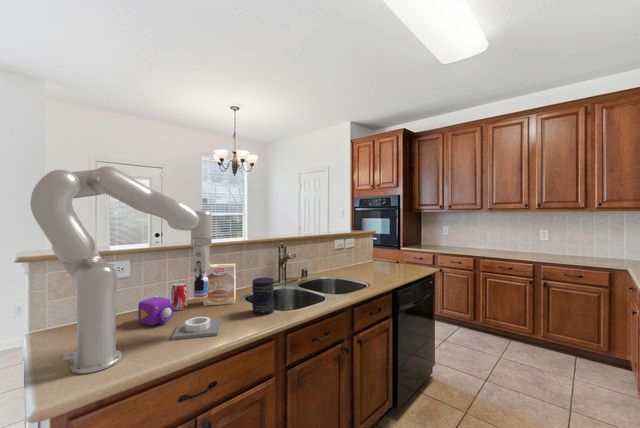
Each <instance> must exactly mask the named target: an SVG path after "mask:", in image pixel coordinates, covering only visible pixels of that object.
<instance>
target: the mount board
mask: <svg viewBox="0 0 640 428" xmlns="http://www.w3.org/2000/svg"><path fill="white" fill-rule="evenodd" d="M221 323H222V318H219V319H218V318H216V319H211V318H210V317H208V316H195V317H191V318H189V319H187V320H185V321H183V322H182V321H181V322H179V323H178V325H177V327H176V328H175V330H174V332H173V333H172V334H171V336H170V340H171V341H176V340H185V339H186V340H187V339H197V338H207V337H217V336H218V334H219V330H220V326H221Z"/></svg>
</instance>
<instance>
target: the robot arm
mask: <svg viewBox="0 0 640 428" xmlns="http://www.w3.org/2000/svg"><path fill="white" fill-rule="evenodd" d="M100 195H108V196H109V197H111V198H113V199H116V201H119V202H120V203H123V204H125V205H127V206H129V207H130V208H132V209H134V210H136V211H138V212H141V213H144V214H148V215H152V216H155V217H157V218H160V219H163V220H165V221H166V223H167V225H168V226H169V227H170V228H172V229H173V230H176V231H177V230H178V231H187V232H189V231H190V247H192V248H193V251H192V272H193V273H195V274H194V278H195V288H194V290H195V291H203V290H204V280H203V271H204V272H207V271H208V270H209V269H210V264H211V260H210V259H211V254H210V253H211V252H210V247H212V232H213V231H212V230H213V229H212V228H213V227H212V222H213V221H212V220H213V217H212V214H213V213H212V212H211V211H208V210H193V209H191V208H189V206H186V205H185V204H183V203H181V202H180V201H177V200H176V199H174V198H171V197H170V196H167V195H166V194H164V193H161V192H159V191H157V190H155V189H153V188H151V187H149V186H148V185H146V184H144V183H142V182H141V181H139V180H136V179H135V178H134V177H131V176H130V175H129V174H127V173H125V172H124V171H121V170H120V169H118V168H117V167H114V166H109V165H106V166H100V167H98V168H95V169H89V170H81V171H70V170H67V169H54V170H52V171H49V172H47V173H46V174H45V175H43V177H41V179H39V181H38V182H37V183H36V184H35V186H34V188H33V189H32V192H31V195H30V203H29V204H30V210H31V213H32V215H33V218H34V220H35V221H36V223H37V225H38V226H39V228H40V229H41V231H42V232H43V234H44V236H45V238H47V240H48V242H49V243H50V244H51V249H52V251H53V254H54V255H55V256H56V258H57V259H58V261H59V262H60V264H62V266H63V268H64V269H65V270H66V271H67V273H68V275H69V276H70V277H71V279H72V280H73V281H74V283H75V284H76V287H77V290H76V336H77V337H76V343H77V344H76V345H77V346H76V350H74V351H73V350H71V351H65V352H63V354H62V361H63V362H69V361H70V362H71V361H72V363H71V364H70V371H71V372H72V373H74V374H78V375H79V374H91V373H95V372H99V371H101V370H102V371H103V370H106V369H108V368H110V367H113V366H114V365H116V364H117V363H118V362H120V361H121V360H122V358H123V352H122V351H120V350H118V349H117V326H116V325H117V319H116V318H117V317H116V313H117V312H116V311H117V310H116V300H117V299H116V293H117V285H118V277H117V275H118V274H117V271H116V270H115V268H114V267H113V266H112V265H111V264H110V263H108V262H106V261H105V260H104V259H103V258H102V256H101V255H100V254H101V253H100V252H99V251H98V250H97V248H96V243H95V242H96V241H95V240H94V238H93V236H91V235H90V233H89V232H88V231H87V229H86V227H85V226H84V225H83V223H82V221H80V219H79V217H78V215H77V214H76V212H75V210H74V208H73V200H74V199H79V198H88V197H94V196H100ZM200 271H202V272H200ZM206 277H207V276H206Z"/></svg>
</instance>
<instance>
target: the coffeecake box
mask: <svg viewBox="0 0 640 428" xmlns="http://www.w3.org/2000/svg"><path fill="white" fill-rule="evenodd" d="M206 276H207V278H208V296H207V297H206V298H203V306H217V305H219V306H221V305H234V304H235V302H236V298H237V297H236V292H237V291H236V287H237V285H236V280H237V279H236V263H216V264H215V263H210V269H209V270H208V271H207V272H206Z"/></svg>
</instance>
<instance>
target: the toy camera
mask: <svg viewBox="0 0 640 428" xmlns="http://www.w3.org/2000/svg"><path fill="white" fill-rule="evenodd" d="M137 309H138V310H137V311H138V313H137V314H138V317H137V318H138V323H140V324H142V325H147V326H150V327H151V326H153V327H154V326H157V325H159V324H163V323H164V322H169V320H171V319H172V317H173V316H174V313H175V310H174V308H173V307H172V303H171V299H170V298H166V297H161V296H159V295H154V296H153V297H151V298H148V299H144V300H141V301H140V302H139V303H138V307H137Z"/></svg>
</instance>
